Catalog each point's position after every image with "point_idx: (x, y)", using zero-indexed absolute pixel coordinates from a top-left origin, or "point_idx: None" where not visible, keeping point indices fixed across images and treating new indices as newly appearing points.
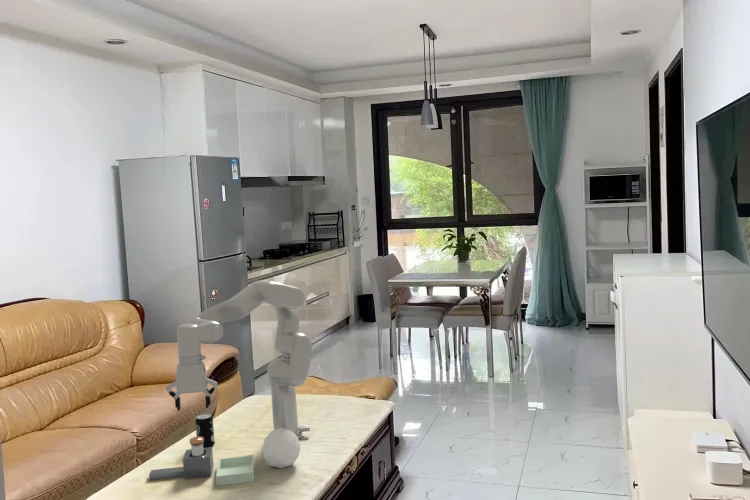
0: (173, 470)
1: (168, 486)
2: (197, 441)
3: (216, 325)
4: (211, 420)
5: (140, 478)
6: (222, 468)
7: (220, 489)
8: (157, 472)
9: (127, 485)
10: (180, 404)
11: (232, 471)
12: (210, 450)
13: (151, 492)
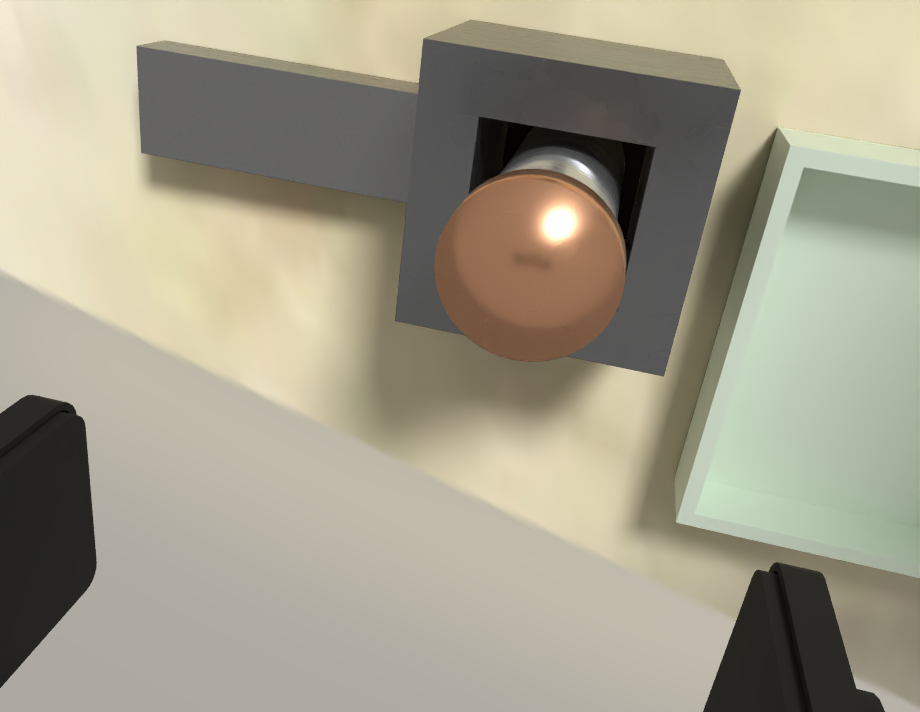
0: (336, 149)
1: (326, 320)
2: (533, 360)
3: None
4: None
5: (84, 58)
6: (789, 213)
7: (692, 541)
8: (202, 130)
9: (21, 158)
10: (26, 456)
11: (860, 320)
12: (701, 197)
13: (220, 361)
